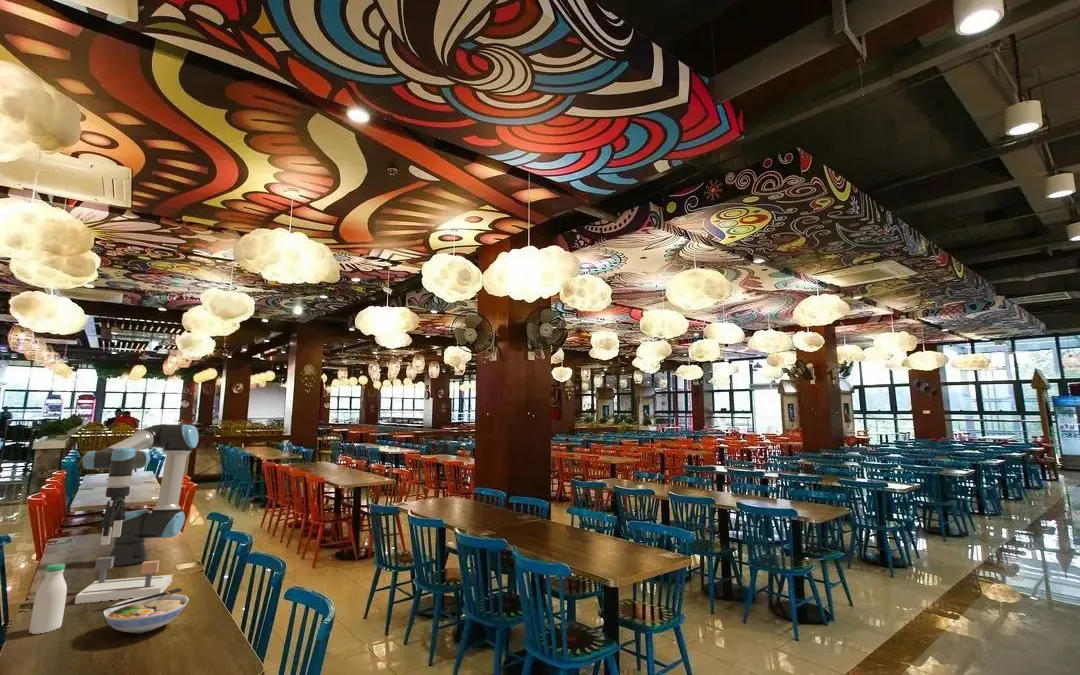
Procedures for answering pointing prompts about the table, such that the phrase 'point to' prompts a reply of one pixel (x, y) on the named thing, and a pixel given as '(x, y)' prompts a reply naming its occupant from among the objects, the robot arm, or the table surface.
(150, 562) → the fader
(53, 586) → the milk bottle
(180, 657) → the table surface
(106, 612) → the ramen bowl
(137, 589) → the fader panel
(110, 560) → the fader
